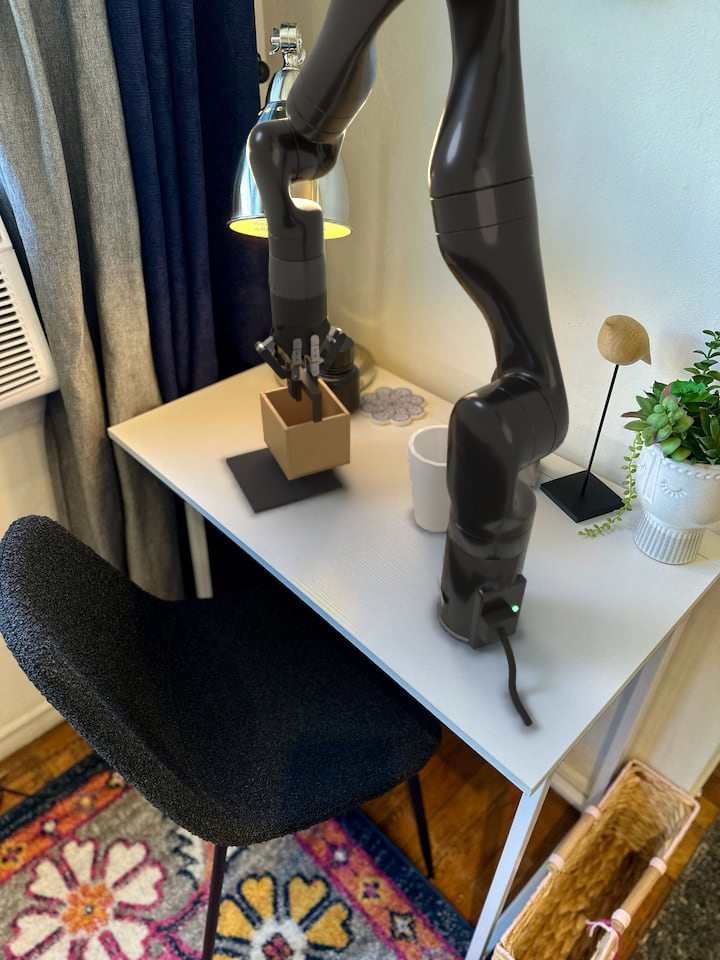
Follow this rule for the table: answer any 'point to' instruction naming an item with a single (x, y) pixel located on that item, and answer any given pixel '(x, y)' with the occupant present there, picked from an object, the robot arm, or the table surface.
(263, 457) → the bin mat
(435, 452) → the foam cup
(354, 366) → the ink bottle
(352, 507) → the table surface
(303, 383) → the handled storage bin
